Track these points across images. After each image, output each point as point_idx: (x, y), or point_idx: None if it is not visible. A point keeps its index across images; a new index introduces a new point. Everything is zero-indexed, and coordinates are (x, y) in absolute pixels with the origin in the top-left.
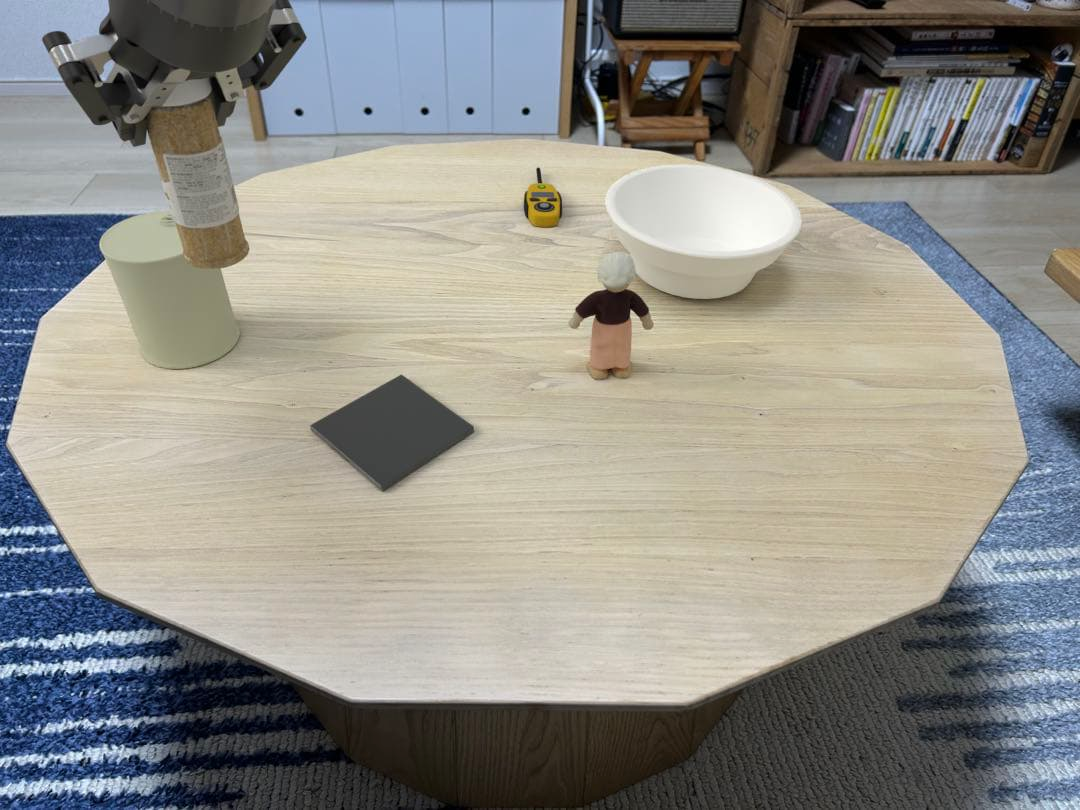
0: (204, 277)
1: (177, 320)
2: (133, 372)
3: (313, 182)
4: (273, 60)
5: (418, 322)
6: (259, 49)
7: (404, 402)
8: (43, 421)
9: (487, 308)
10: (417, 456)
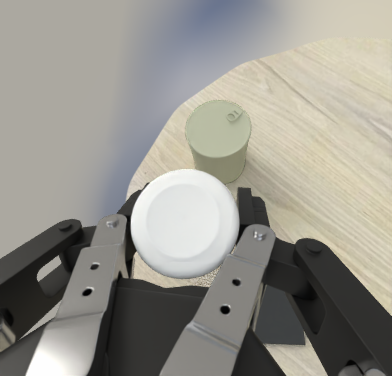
0: (229, 163)
1: (207, 171)
2: (186, 167)
3: (358, 56)
4: (328, 374)
5: (335, 229)
6: (323, 326)
7: (282, 293)
8: (143, 175)
9: (386, 249)
10: (262, 338)
